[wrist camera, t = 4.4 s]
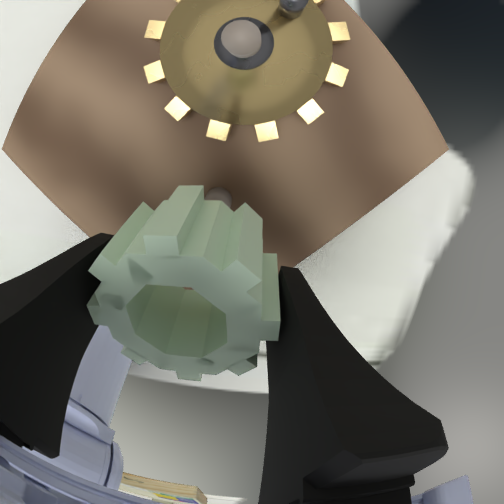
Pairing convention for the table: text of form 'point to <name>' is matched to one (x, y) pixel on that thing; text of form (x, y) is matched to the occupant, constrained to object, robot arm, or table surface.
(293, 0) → the brass gear
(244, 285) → the pale green gear
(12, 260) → the table surface
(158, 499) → the reusable coffee cup
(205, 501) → the puzzle box
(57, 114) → the gear board
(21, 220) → the table surface
